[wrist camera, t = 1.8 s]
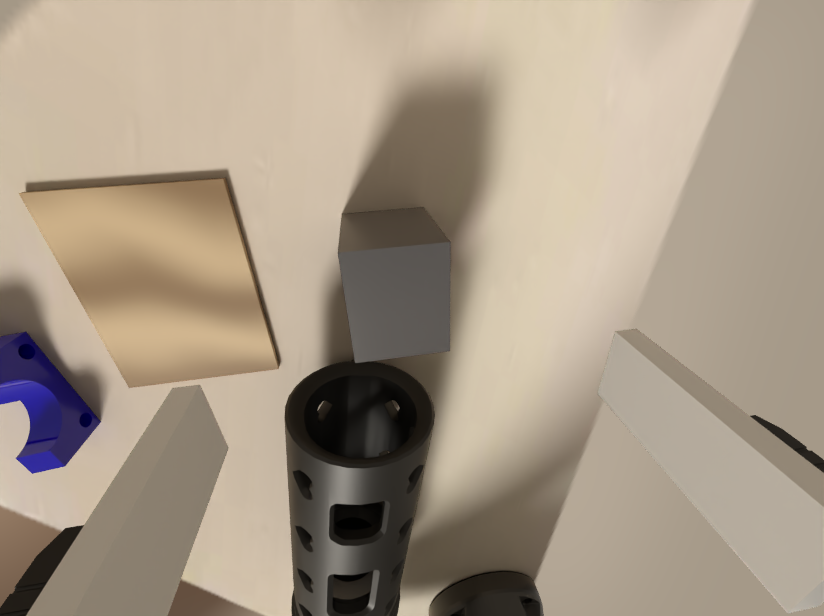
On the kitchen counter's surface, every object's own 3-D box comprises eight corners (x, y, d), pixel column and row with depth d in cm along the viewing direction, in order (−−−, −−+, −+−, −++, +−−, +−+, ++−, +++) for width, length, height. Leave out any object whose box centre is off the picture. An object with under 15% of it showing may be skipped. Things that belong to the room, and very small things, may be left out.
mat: (279, 365, 26) (278, 368, 25) (132, 384, 25) (129, 387, 24) (225, 177, 20) (223, 178, 19) (25, 191, 18) (18, 193, 18)
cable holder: (-31, 341, 22) (-102, 384, 18) (28, 329, 22) (-32, 369, 19) (53, 430, 26) (7, 479, 22) (102, 419, 26) (65, 466, 23)
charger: (426, 313, 26) (449, 374, 20) (357, 321, 25) (358, 387, 19) (423, 207, 22) (450, 242, 16) (341, 213, 21) (337, 252, 15)
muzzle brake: (422, 351, 27) (457, 467, 18) (388, 554, 40) (399, 681, 31) (293, 349, 26) (262, 476, 17) (301, 563, 38) (285, 699, 29)
